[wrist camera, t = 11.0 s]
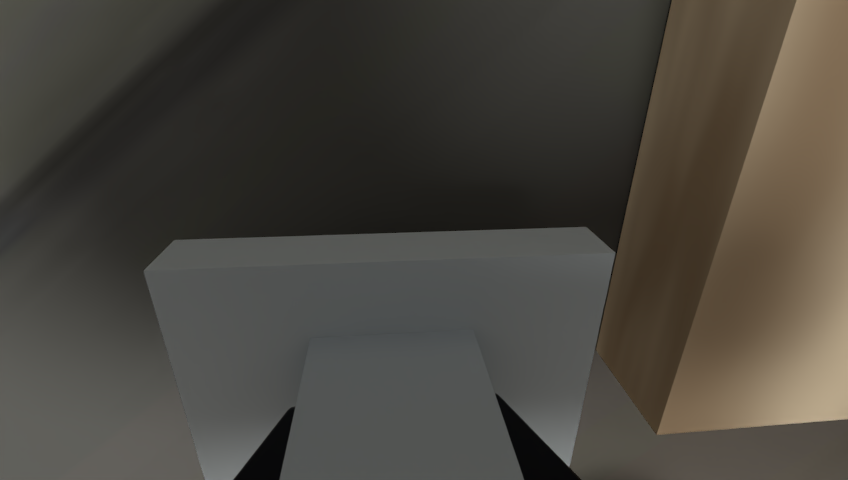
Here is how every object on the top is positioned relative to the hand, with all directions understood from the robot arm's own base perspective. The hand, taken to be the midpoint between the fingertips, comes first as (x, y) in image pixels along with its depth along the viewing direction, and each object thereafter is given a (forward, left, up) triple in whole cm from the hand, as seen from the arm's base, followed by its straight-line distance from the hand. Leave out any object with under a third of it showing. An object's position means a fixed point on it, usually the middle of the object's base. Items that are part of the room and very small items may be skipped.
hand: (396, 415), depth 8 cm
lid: (0, +1, -2) cm, 2 cm away
